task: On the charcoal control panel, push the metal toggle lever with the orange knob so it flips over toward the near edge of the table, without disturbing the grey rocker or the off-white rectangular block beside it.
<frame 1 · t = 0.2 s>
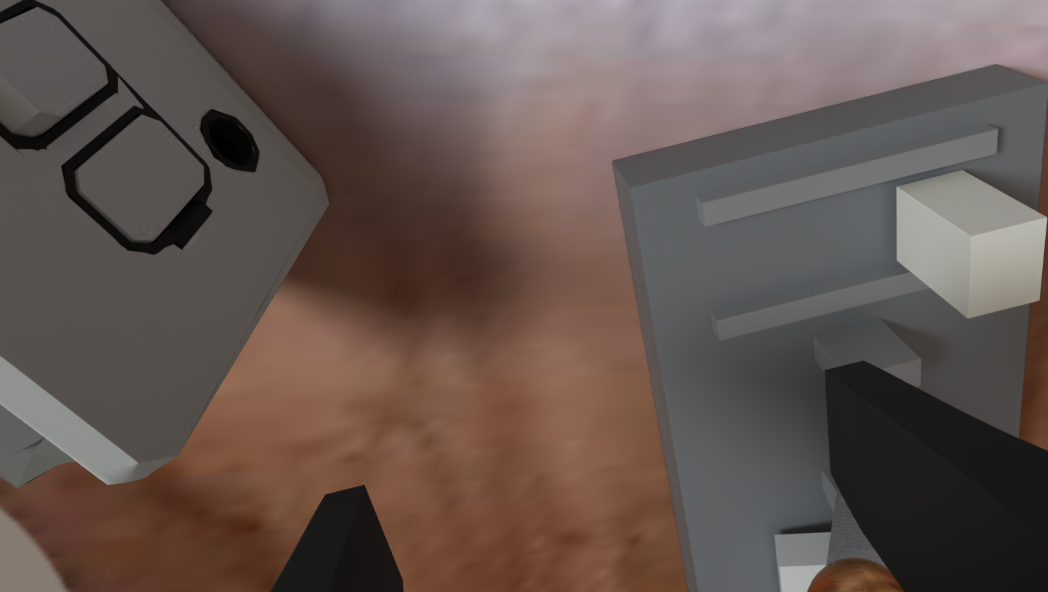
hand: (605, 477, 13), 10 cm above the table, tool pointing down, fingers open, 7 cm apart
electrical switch: (123, 112, 19), on the table
panel: (818, 370, 25), on the table
off-white rectangular block: (964, 240, 19), point 4 cm above the table, slide at -2.0 cm
lever: (868, 525, 19), point 6 cm above the table, hinge at -30.0°
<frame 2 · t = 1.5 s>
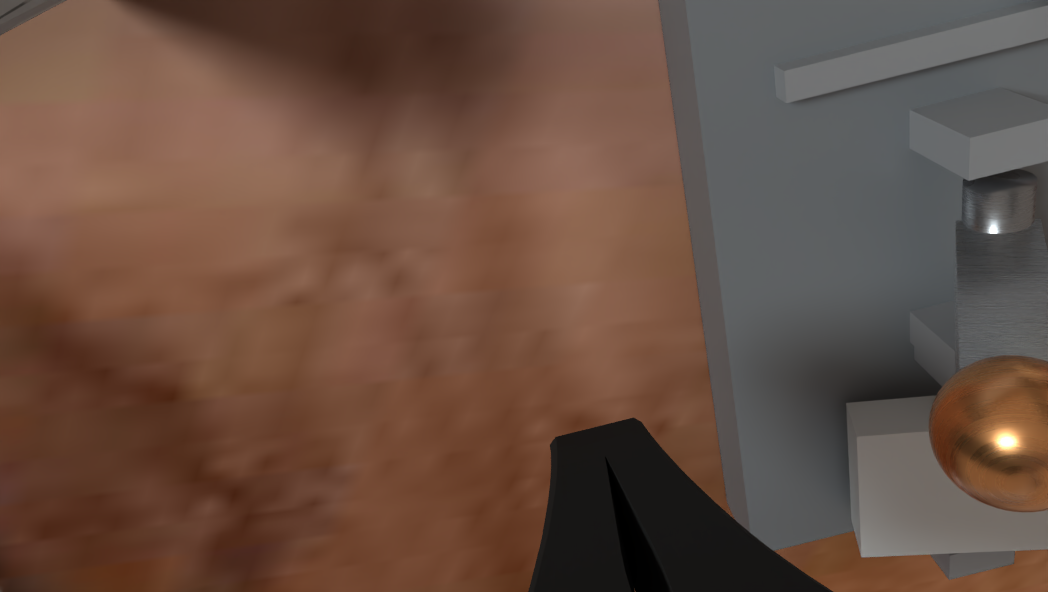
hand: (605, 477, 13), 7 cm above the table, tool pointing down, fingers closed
rocker: (988, 475, 18), point 4 cm above the table, hinge at -15.0°
panel: (902, 191, 19), on the table
lever: (1004, 336, 14), point 6 cm above the table, hinge at -30.0°
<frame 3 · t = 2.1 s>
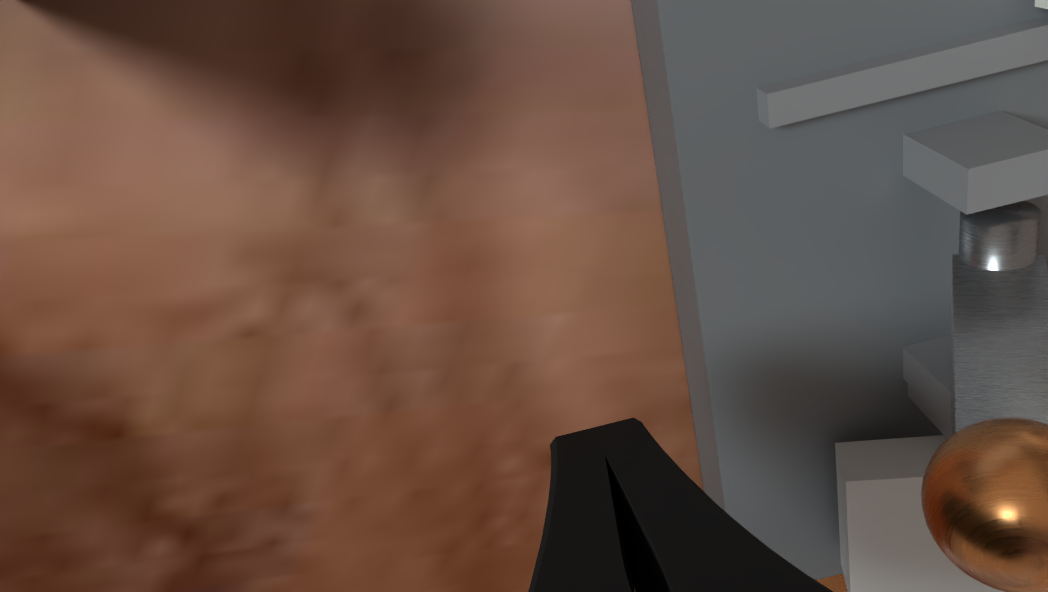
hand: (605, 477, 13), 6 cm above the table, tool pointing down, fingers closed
rocker: (985, 521, 17), point 4 cm above the table, hinge at -15.0°
panel: (895, 217, 18), on the table
lever: (1004, 388, 13), point 6 cm above the table, hinge at -30.0°
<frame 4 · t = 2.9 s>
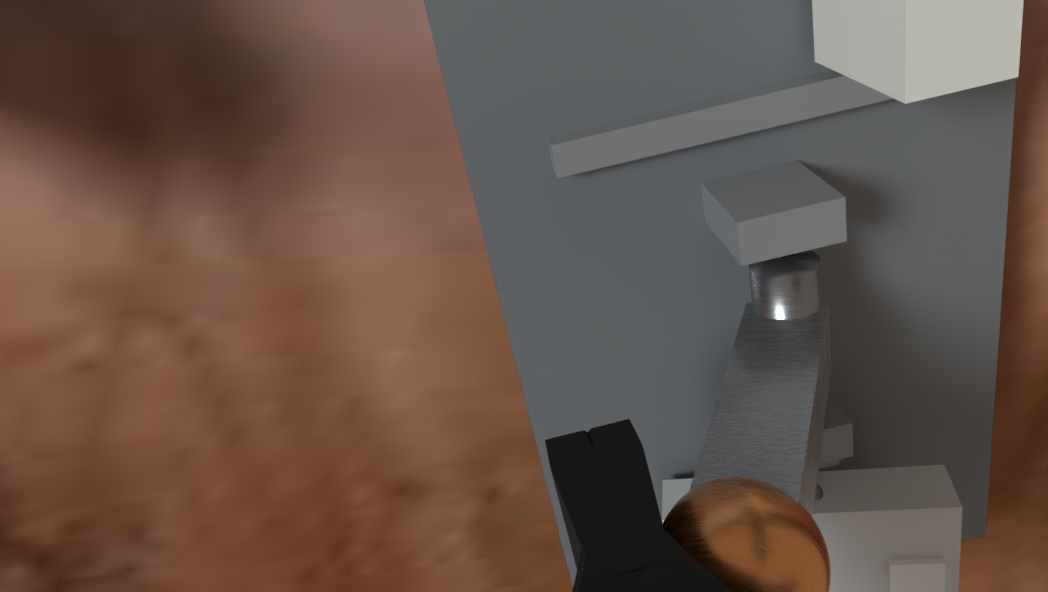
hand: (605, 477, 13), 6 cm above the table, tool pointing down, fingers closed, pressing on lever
rocker: (807, 559, 17), point 4 cm above the table, hinge at -15.0°
panel: (727, 257, 18), on the table
off-white rectangular block: (906, 1, 12), point 4 cm above the table, slide at -2.0 cm
lever: (766, 440, 13), point 6 cm above the table, hinge at -28.0°, touching gripper
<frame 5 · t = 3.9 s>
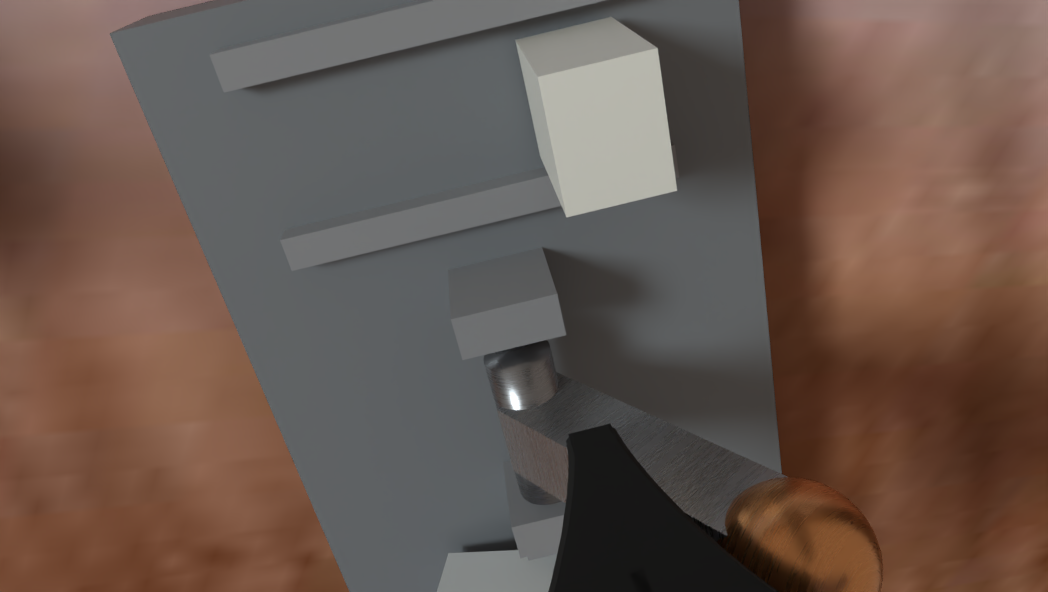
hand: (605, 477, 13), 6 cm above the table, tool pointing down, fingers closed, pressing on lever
panel: (515, 330, 18), on the table
off-white rectangular block: (590, 110, 13), point 4 cm above the table, slide at -2.0 cm
lever: (655, 486, 13), point 6 cm above the table, hinge at 34.0°, touching gripper
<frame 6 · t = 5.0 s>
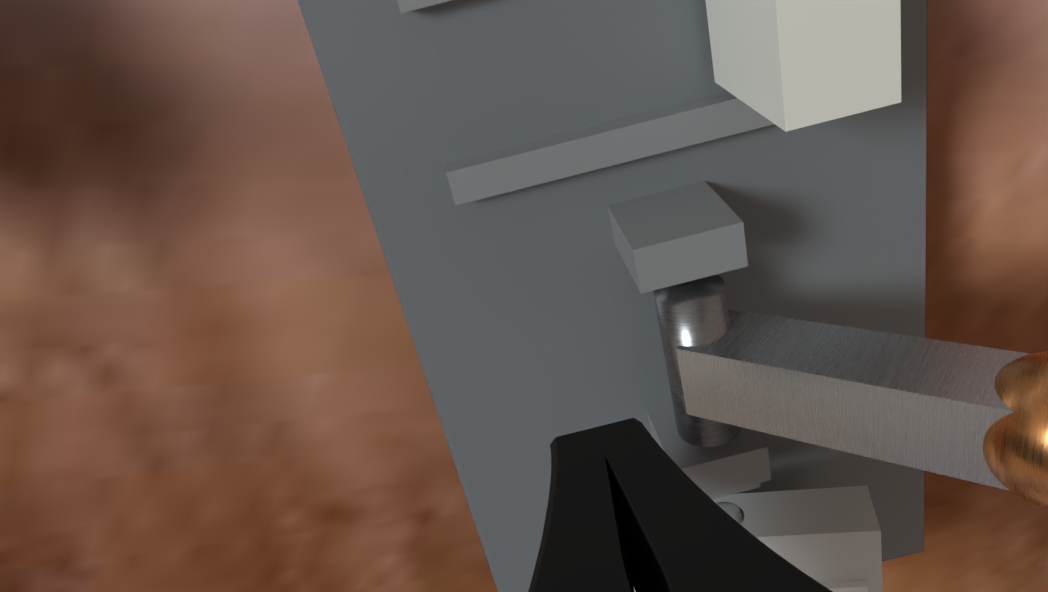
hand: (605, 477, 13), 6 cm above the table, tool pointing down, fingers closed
rocker: (733, 582, 17), point 4 cm above the table, hinge at -15.0°
panel: (650, 276, 18), on the table
off-white rectangular block: (793, 23, 12), point 4 cm above the table, slide at -2.0 cm
lever: (874, 393, 13), point 6 cm above the table, hinge at 46.9°
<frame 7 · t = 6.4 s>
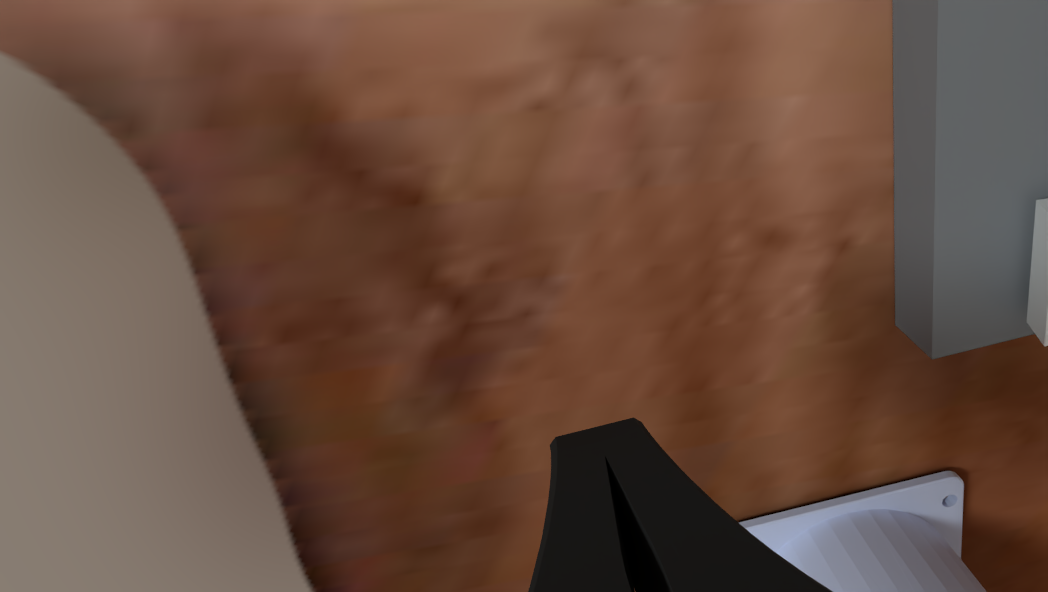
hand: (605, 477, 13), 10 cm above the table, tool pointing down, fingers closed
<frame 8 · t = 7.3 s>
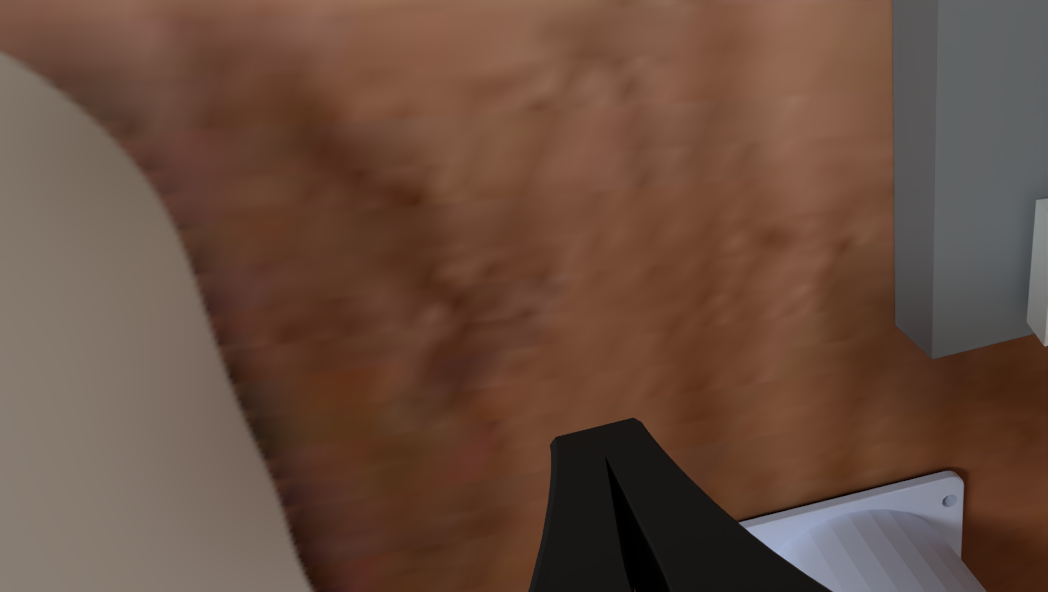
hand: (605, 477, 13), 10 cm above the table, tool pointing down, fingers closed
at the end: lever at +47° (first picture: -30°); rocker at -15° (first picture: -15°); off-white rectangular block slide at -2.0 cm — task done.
